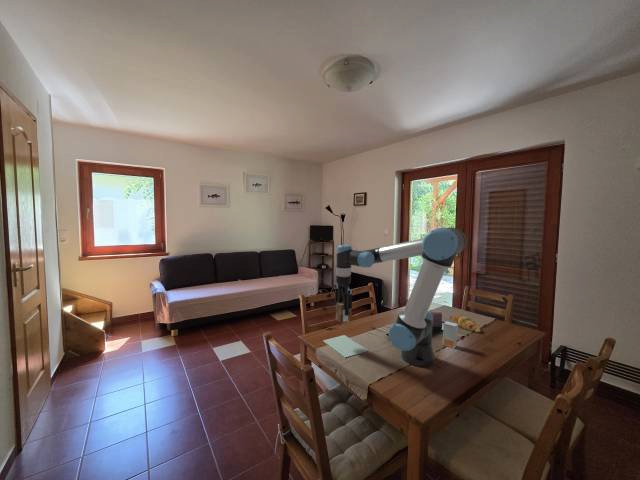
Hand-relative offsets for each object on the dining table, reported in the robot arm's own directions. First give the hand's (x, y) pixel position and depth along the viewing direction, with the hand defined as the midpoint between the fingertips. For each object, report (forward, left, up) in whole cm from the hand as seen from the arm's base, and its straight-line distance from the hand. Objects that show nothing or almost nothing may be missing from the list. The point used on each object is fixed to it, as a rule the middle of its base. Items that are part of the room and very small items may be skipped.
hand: (342, 319), depth 140 cm
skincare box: (-29, -48, -14) cm, 58 cm away
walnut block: (0, 0, 0) cm, 0 cm away
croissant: (-18, -79, -14) cm, 82 cm away
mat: (-2, 0, -13) cm, 14 cm away
